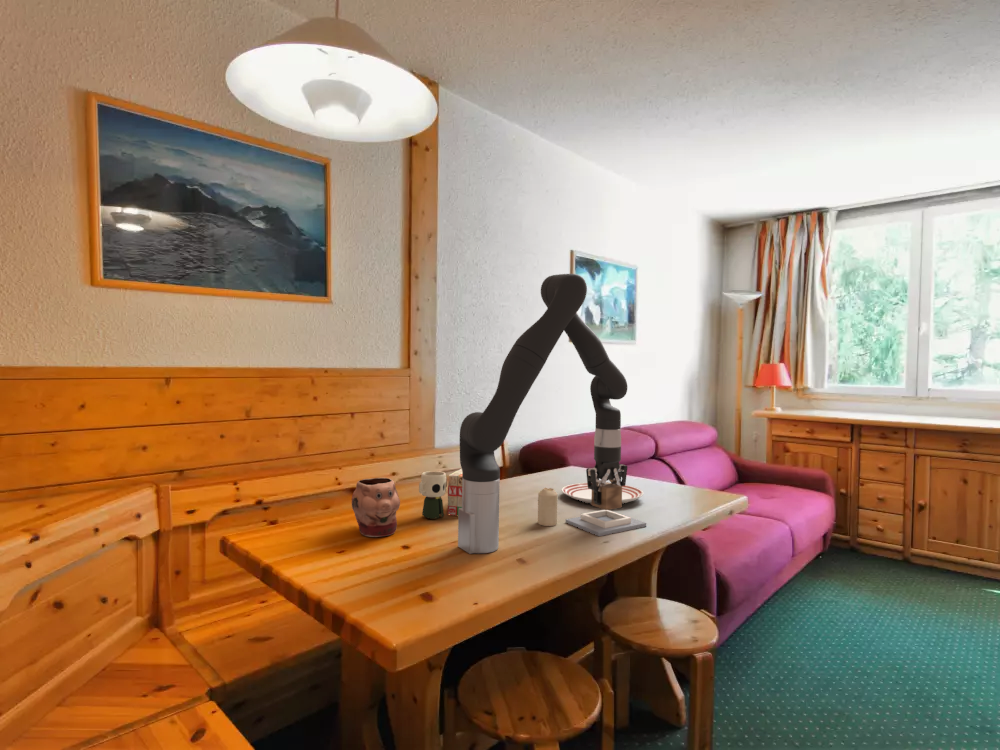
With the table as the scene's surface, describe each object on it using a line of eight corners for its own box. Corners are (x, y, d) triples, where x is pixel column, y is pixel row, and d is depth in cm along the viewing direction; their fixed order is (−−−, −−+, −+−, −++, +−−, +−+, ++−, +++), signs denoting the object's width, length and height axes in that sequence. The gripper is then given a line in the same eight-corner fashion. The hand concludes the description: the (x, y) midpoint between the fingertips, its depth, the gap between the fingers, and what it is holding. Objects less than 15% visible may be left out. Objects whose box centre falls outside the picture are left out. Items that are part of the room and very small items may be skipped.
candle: (543, 527, 152) (544, 491, 152) (534, 521, 157) (535, 487, 157) (560, 525, 154) (561, 490, 154) (551, 519, 159) (551, 485, 159)
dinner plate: (546, 500, 182) (547, 490, 182) (583, 486, 205) (583, 477, 205) (624, 515, 167) (625, 504, 166) (654, 497, 189) (655, 488, 189)
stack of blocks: (471, 498, 183) (472, 462, 182) (489, 500, 181) (490, 463, 180) (447, 515, 162) (447, 474, 162) (466, 517, 160) (467, 476, 160)
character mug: (427, 524, 153) (428, 478, 153) (410, 518, 157) (411, 474, 157) (454, 516, 161) (455, 472, 161) (438, 511, 166) (438, 469, 166)
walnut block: (606, 510, 151) (606, 488, 151) (591, 505, 156) (591, 484, 156) (621, 507, 154) (622, 486, 154) (606, 502, 159) (607, 482, 159)
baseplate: (598, 536, 145) (599, 527, 145) (565, 522, 157) (565, 514, 156) (646, 526, 154) (646, 517, 154) (611, 514, 166) (611, 506, 166)
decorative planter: (339, 525, 150) (340, 475, 150) (381, 518, 157) (381, 470, 157) (367, 545, 134) (368, 489, 134) (412, 537, 141) (413, 484, 141)
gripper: (597, 448, 148) (596, 509, 148) (635, 444, 156) (634, 502, 156) (579, 444, 154) (578, 503, 155) (616, 440, 162) (615, 496, 162)
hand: (606, 502), depth 155 cm, fingers closed on walnut block, 6 cm apart
